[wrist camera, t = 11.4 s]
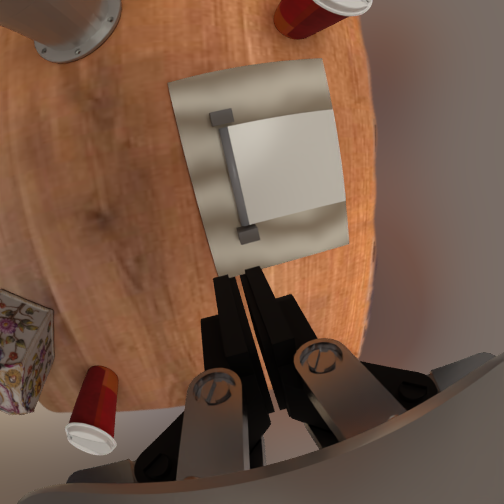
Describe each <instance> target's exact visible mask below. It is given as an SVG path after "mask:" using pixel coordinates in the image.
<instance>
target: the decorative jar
mask: <svg viewBox="0 0 504 504" xmlns="http://www.w3.org/2000/svg"><path fill="white" fill-rule="evenodd" d="M54 357H55V355H54V335H53V310H51V309H48V308H46V307H43V306H40V305H38V304H35V303H33V302H31V301H28V300H26V299H23V298H21V297H19V296H16V295H14V294H11V293H9V292H7V291H4V290H2V289H1V290H0V411H2V412H4V413H6V414H9V415H14V414H15V415H16V414H19V415H24V414H27V413H31V412H34V409H35V407H36V404H37V402H38V399H39V397H40V394H41V391H42V389H43V386H44V384H45V381H46V379H47V376H48V374H49V371H50V369H51V366H52V363H53V361H54Z"/></svg>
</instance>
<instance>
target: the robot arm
mask: <svg viewBox="0 0 504 504" xmlns="http://www.w3.org/2000/svg"><path fill="white" fill-rule="evenodd" d="M121 10H122V2H121V0H0V25H1V26H3V27H6V28H8V29H10V30H13V31H15V32H17V33H19V34H22V35H24V36H26V37H28V38H30V39H32V40H34V44H35V48H36V50H37V52H38V53H39V54H40V56H41V57H43V58H44V59H46V60H48V61H51V62H55V63H68V62H72V61H76V60H78V59H80V58H83V57H85V56H86V55H88V54H90V53H91V52H93V51H94V50H95V49H97V48H98V47H99V46H100V45H101V44H102V43H103V42H104V41H105V40H106V39H107V38H108V37H109V36H110V34H111V33H112V32H113V30H114V28H115V27H116V25H117V23H118V21H119V18H120V15H121ZM111 21H113V22H111ZM79 52H80V54H79ZM240 278H241V282H242V286H243V290H244V293H245V297H246V301H247V305H248V308H249V312H250V316H251V320H252V323H253V327H254V331H255V334H256V338H257V341H258V344H259V347H260V350H261V354H262V357H263V360H264V363H265V366H266V369H267V372H268V375H269V378H270V381H271V384H272V387H273V390H274V393H275V397H276V400H277V403H278V405H279V408H280V410H282V409H287V412H288V415H289V417H291V418H292V419H295V420H298V421H301V422H304V425H305V427H306V429H307V431H308V432H309V434H310V435H311V437H312V439H313V440H314V442H315V443H316V445H317V446H318V448H319V450H317V451H314V452H311V453H308V454H305V455H302V456H299V457H296V458H292V459H289V460H285V461H282V462H278V463H274V464H270V465H266V455H265V442H264V437H263V434H264V433H265V432H266V430H267V429H268V428H269V426H270V425H271V423H270V422H271V421H270V418H269V413H272V412H275V411H274V408H273V404H272V401H271V397H270V394H269V391H268V387H267V384H266V380H265V377H264V374H263V370H262V367H261V363H260V360H259V356H258V353H257V349H256V346H255V343H254V339H253V336H252V333H251V329H250V326H249V323H248V319H247V316H246V313H245V309H244V306H243V302H242V299H241V296H240V292H239V289H238V285H237V282H236V278H235V277H231V278H229V276H228V274H227V275H223V276H220V277H216V278H213V282H214V288H215V295H216V302H217V308H218V315H215V316H211V317H207V318H203V319H201V333H202V346H203V357H204V369H205V371H204V372H202V373H200V374H199V375H198V376H196V377H195V378H194V379H193V380H192V382H191V383H190V384H189V387H188V390H187V396H186V403H185V410H184V412H183V413H182V414H181V415H180V416H179V417H178V418H177V419H176V420H175V421H174V422H173V423H172V424H171V425H170V426H169V427H168V428H167V429H166V430H165V431H164V432H163V433H162V434H161V435H160V436H159V437H158V438H157V439H156V440H155V441H154V442H153V443H152V444H151V445H150V446H149V447H147V449H145V450H144V451H143V452H142V453H141V455H140V456H139V457H138V459H137V460H135V461H131V460H130V459H127V460H123V461H119V462H115V463H111V464H106V465H102V466H97V467H93V468H88V469H83V470H79V471H76V472H74V473H73V474H72V475H70V476H69V478H68V480H67V482H66V484H57V485H52V486H47V487H44V488H40V489H37V490H34V491H32V492H30V493H28V494H26V495H24V496H23V497H22V498H21V499H20V500H19V501H18V503H17V504H504V352H503V353H501V354H500V355H498V356H495V355H493V354H491V353H486V352H483V353H478V354H475V355H473V356H470V357H468V358H465V359H462V360H460V361H457V362H454V363H451V364H448V365H445V366H443V367H439V368H436V369H433V370H431V372H430V374H428V375H425V374H422V373H419V372H413V371H408V370H402V369H397V368H391V367H386V366H381V365H376V364H371V363H366V362H362V361H359V360H358V359H357V358H356V357H355V356H354V355H353V354H352V353H351V352H350V351H349V349H348V348H347V347H346V346H345V345H343V344H342V343H341V342H339V341H337V340H334V339H328V338H320V339H318V338H317V337H316V335H315V333H314V332H313V330H312V328H311V326H310V325H309V323H308V321H307V319H306V318H305V316H304V314H303V312H302V311H301V309H300V307H299V306H298V304H297V302H296V300H295V299H294V297H293V296H292V294H289V295H286V296H283V297H279V298H276V299H275V297H274V294H273V292H272V290H271V288H270V286H269V284H268V282H267V280H266V278H265V276H264V274H263V272H262V269H261V267H260V266H256V267H252V268H249V269H245V274H242V275H240Z"/></svg>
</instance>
